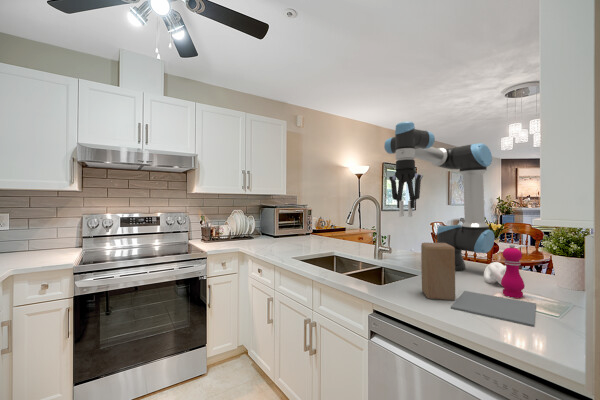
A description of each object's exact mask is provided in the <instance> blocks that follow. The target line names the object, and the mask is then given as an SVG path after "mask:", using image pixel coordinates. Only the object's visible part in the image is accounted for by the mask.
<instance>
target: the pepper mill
mask: <svg viewBox="0 0 600 400" xmlns="http://www.w3.org/2000/svg"><path fill="white" fill-rule="evenodd" d="M508 246H509V247H507V248H504V249H503V251H502V257H503V259H504V264H505V265H506V272H505V274H504V276H503V278H502V280H501V286H502V288H503V289H502V295H503V296H505V297H507V296H509V297H508V298H511V297H514V298H513V299H522V298H521V297H524V292H523V290H524V289H525V282H524V280H523V278H522V276H521V274H520V266H521V261H520V260H521V259H522V258H523V253H522V251H521V250H520V249H519V248H516V245H515V244H514V243H509V245H508Z"/></svg>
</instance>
